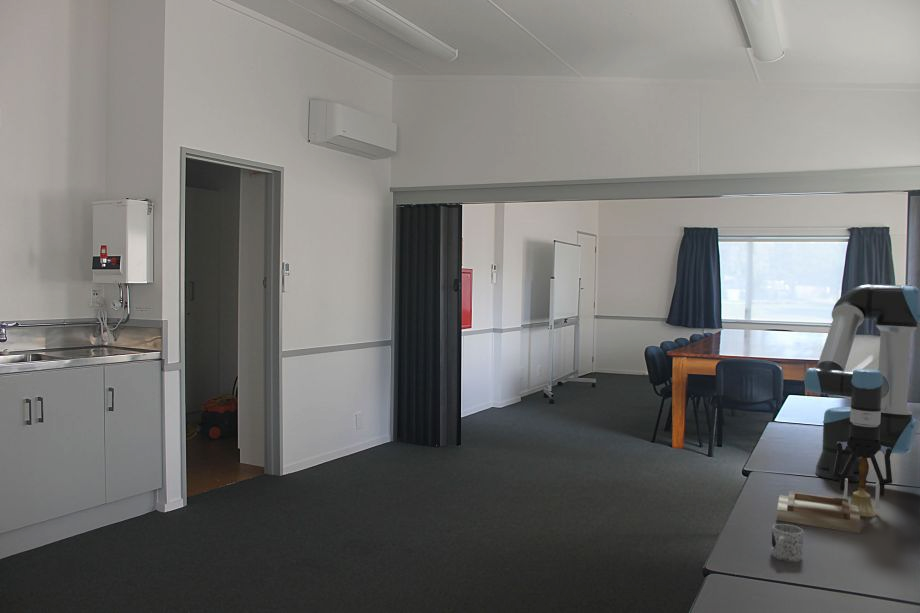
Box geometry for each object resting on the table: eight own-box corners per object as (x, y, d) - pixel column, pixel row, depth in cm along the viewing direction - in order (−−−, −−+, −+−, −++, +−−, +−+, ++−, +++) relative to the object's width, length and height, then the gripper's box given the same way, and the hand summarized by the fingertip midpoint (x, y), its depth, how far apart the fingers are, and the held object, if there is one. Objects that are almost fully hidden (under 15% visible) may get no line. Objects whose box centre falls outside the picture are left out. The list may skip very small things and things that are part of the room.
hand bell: (873, 510, 211) (876, 455, 210) (880, 518, 203) (883, 461, 202) (841, 506, 213) (844, 452, 213) (846, 514, 206) (849, 458, 205)
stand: (779, 505, 213) (779, 489, 213) (857, 516, 204) (858, 500, 204) (776, 520, 199) (777, 503, 199) (860, 533, 191) (861, 516, 190)
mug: (776, 548, 178) (777, 521, 178) (805, 556, 174) (806, 528, 173) (763, 560, 170) (764, 532, 170) (793, 568, 166) (794, 539, 166)
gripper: (825, 422, 208) (821, 502, 209) (907, 430, 199) (903, 513, 200) (825, 418, 215) (821, 495, 216) (904, 426, 206) (900, 506, 207)
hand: (860, 504), depth 208 cm, fingers open, 7 cm apart
